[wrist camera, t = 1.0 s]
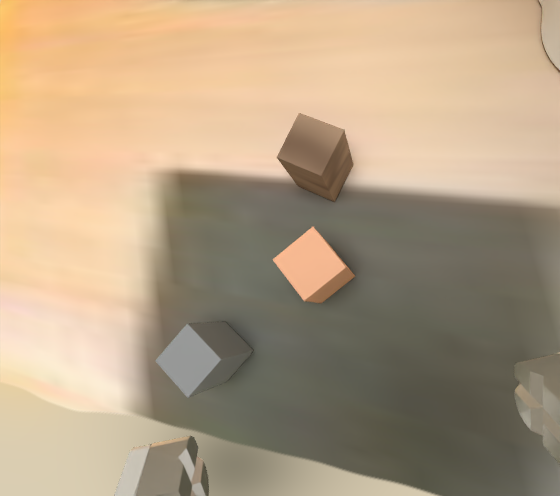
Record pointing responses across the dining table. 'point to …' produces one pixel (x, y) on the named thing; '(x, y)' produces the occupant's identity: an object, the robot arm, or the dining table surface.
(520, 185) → the dining table surface
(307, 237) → the terracotta bar
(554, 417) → the robot arm
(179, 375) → the charcoal bar
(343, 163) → the walnut bar
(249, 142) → the dining table surface
